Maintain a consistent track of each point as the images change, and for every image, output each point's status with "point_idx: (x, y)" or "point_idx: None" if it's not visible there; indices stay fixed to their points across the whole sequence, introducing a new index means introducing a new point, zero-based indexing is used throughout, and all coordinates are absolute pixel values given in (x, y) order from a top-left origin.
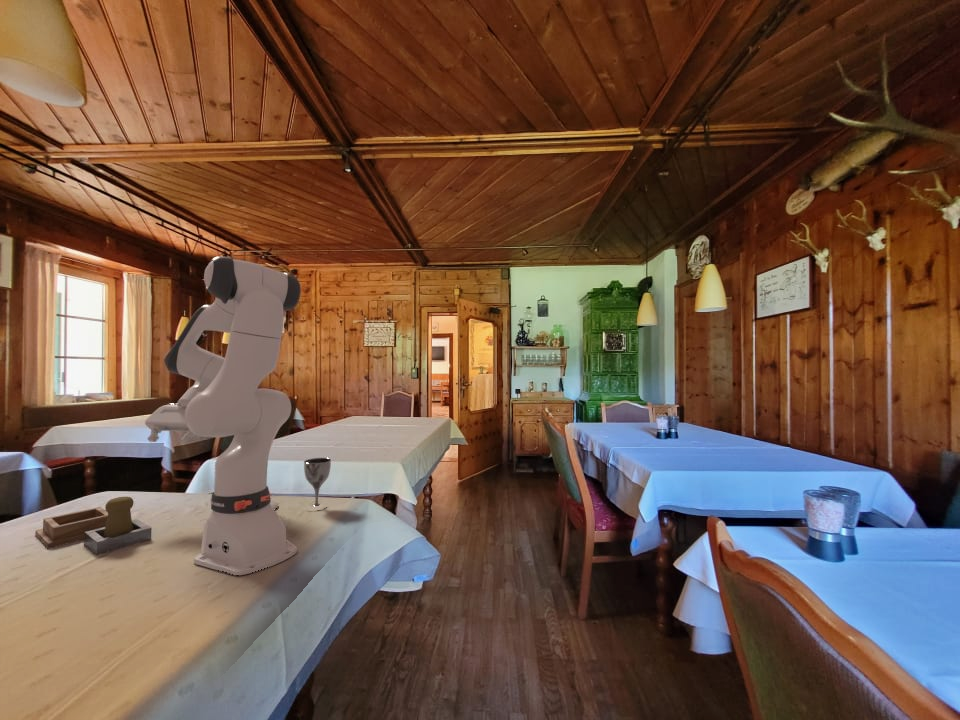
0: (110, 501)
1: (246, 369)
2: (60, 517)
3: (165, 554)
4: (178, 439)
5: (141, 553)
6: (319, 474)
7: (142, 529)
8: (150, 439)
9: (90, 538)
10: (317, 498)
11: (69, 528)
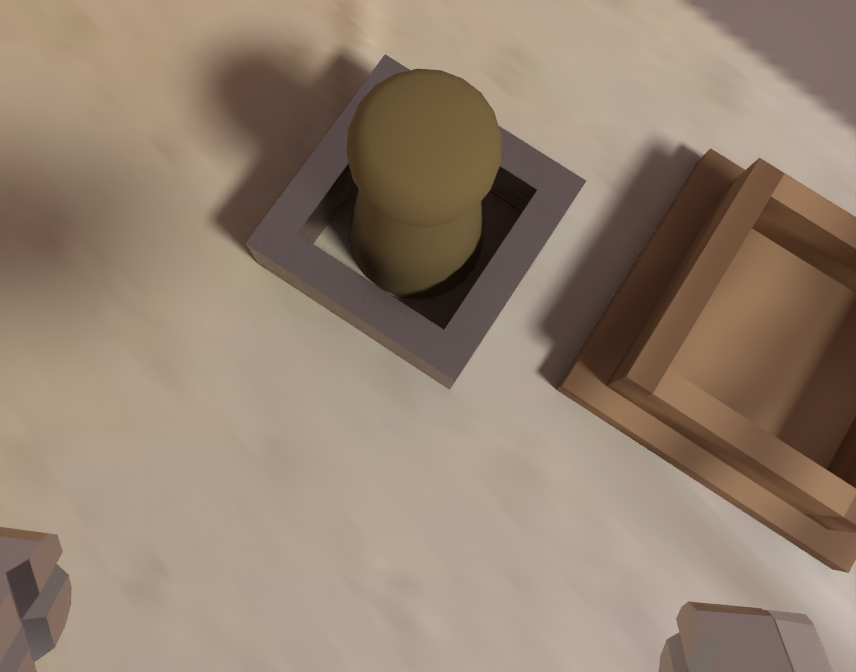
0: (447, 78)
1: None
2: None
3: (44, 92)
4: (27, 536)
5: (176, 103)
6: None
7: (277, 213)
8: (724, 606)
9: None
10: None
11: (717, 219)
